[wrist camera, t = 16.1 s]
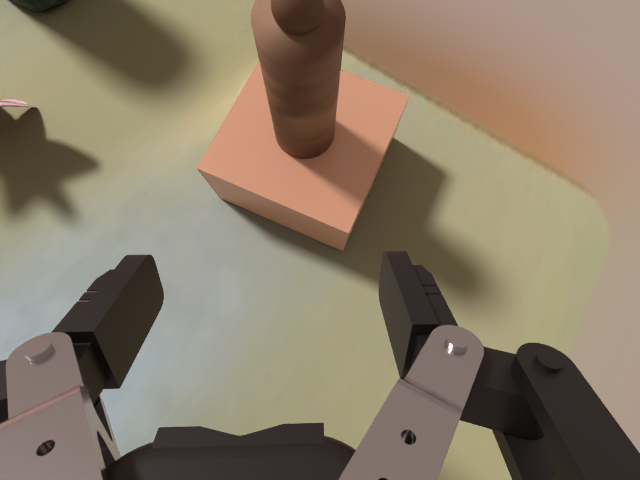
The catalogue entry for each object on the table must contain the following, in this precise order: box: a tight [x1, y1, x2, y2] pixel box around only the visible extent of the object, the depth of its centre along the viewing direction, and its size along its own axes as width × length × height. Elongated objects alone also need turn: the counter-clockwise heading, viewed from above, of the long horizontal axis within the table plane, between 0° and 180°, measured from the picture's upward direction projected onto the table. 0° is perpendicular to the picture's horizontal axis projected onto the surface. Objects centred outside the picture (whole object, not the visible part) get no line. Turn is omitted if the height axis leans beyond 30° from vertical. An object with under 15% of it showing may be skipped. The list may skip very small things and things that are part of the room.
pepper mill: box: [251, 0, 346, 159], centre depth 20 cm, size 4×4×12 cm
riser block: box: [197, 61, 410, 251], centre depth 29 cm, size 12×12×6 cm
